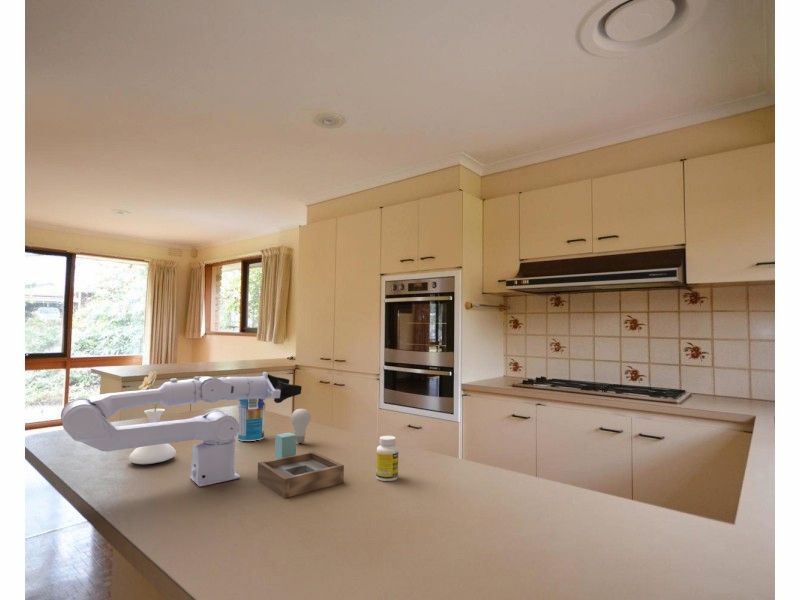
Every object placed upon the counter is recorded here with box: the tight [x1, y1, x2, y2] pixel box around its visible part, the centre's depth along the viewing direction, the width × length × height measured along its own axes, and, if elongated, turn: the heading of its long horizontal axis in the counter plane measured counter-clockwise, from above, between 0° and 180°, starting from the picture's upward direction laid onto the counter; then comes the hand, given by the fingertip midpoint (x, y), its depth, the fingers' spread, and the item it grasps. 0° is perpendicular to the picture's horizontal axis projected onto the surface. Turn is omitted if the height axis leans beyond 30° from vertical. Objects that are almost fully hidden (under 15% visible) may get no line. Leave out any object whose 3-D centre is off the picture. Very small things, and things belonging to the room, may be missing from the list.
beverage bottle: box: [237, 399, 266, 441], centre depth 144 cm, size 8×8×20 cm
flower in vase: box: [128, 370, 177, 465], centre depth 120 cm, size 13×11×25 cm
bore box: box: [257, 451, 345, 499], centre depth 105 cm, size 15×15×4 cm
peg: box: [274, 432, 297, 459], centre depth 117 cm, size 4×4×8 cm
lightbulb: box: [290, 408, 311, 444], centre depth 138 cm, size 6×6×11 cm
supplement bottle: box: [375, 435, 399, 482], centre depth 107 cm, size 5×5×10 cm
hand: (294, 386), depth 120 cm, fingers open, 7 cm apart
